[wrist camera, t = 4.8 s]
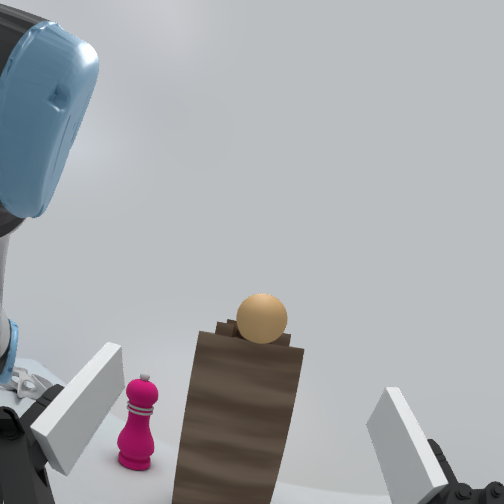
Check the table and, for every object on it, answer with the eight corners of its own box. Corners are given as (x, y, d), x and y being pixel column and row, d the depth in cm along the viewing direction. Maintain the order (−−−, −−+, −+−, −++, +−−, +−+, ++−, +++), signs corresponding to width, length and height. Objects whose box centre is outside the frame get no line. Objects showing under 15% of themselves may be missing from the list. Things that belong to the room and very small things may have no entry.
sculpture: (33, 414, 41) (34, 390, 43) (-21, 380, 40) (-20, 357, 42) (65, 401, 58) (67, 381, 60) (14, 376, 57) (16, 356, 58)
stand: (249, 566, 17) (308, 324, 27) (166, 552, 18) (204, 306, 27) (246, 505, 34) (283, 329, 43) (187, 495, 34) (218, 317, 43)
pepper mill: (156, 462, 44) (169, 375, 50) (145, 475, 37) (158, 380, 43) (124, 451, 44) (134, 365, 50) (110, 462, 37) (119, 368, 43)
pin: (282, 347, 17) (291, 298, 18) (232, 338, 18) (241, 289, 18) (259, 341, 40) (263, 320, 41) (237, 337, 40) (241, 315, 41)
